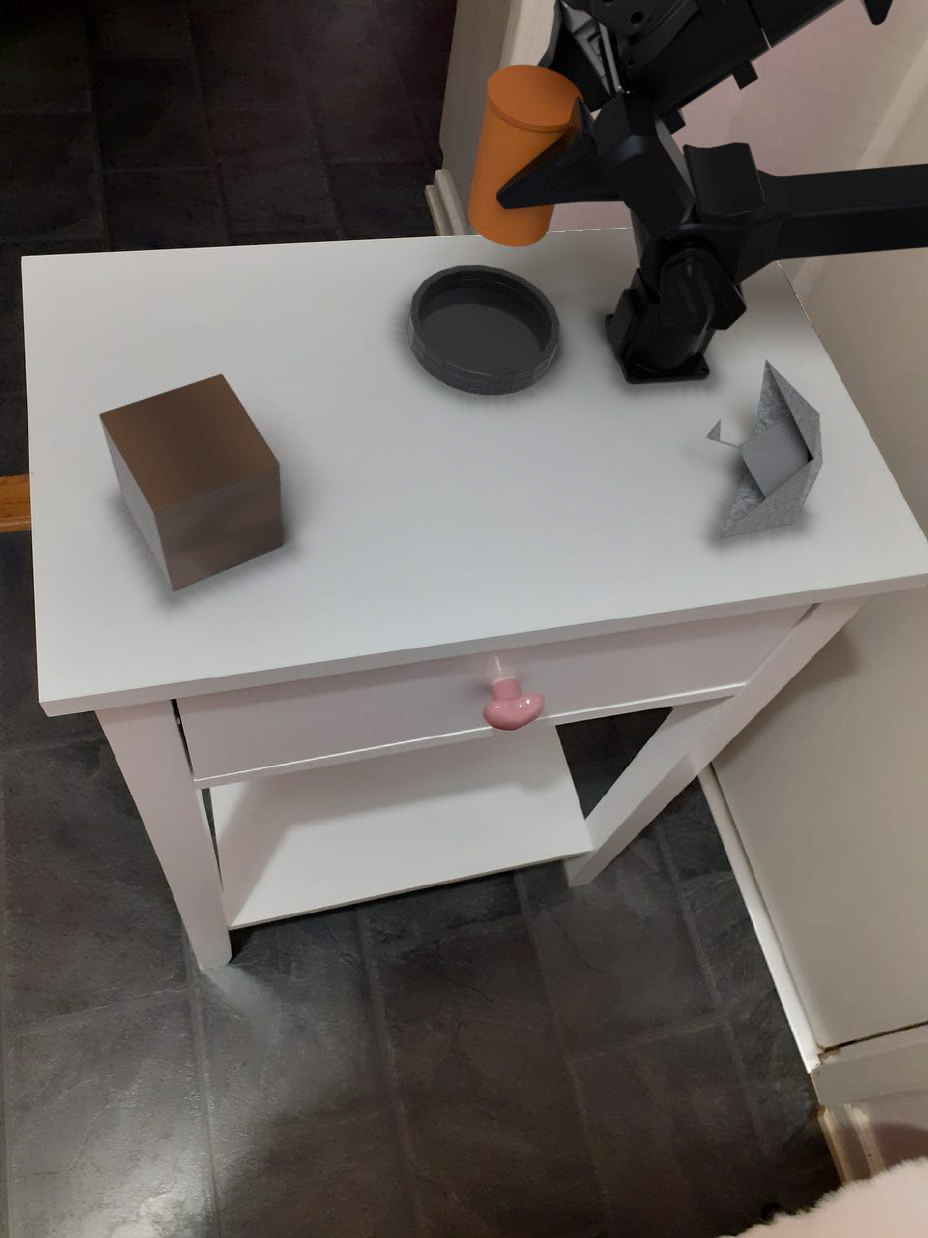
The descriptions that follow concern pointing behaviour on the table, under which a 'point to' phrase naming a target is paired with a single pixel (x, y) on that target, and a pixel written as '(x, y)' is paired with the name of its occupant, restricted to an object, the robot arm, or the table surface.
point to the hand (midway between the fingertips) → (495, 170)
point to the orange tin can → (517, 148)
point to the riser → (196, 479)
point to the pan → (482, 329)
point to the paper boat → (776, 459)
